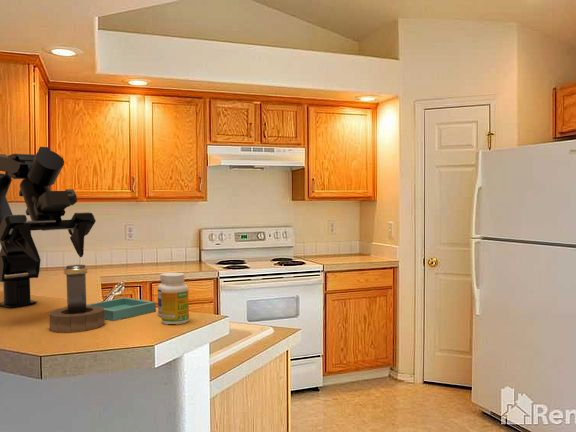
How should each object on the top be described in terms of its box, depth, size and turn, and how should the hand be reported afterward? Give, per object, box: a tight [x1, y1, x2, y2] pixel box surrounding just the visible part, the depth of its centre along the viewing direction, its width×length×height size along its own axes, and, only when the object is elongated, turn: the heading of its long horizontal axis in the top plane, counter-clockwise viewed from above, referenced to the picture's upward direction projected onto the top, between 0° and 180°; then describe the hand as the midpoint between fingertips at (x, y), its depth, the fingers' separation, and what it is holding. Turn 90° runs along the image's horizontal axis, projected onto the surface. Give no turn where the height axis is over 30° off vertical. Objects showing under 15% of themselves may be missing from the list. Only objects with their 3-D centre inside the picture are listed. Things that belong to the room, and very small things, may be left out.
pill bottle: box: [157, 271, 175, 317], centre depth 113 cm, size 5×5×9 cm
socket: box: [48, 306, 106, 333], centre depth 104 cm, size 10×10×3 cm
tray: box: [86, 296, 157, 322], centre depth 115 cm, size 11×11×2 cm
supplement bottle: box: [161, 272, 190, 325], centre depth 106 cm, size 5×5×10 cm
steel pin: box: [63, 264, 88, 314], centre depth 104 cm, size 4×4×12 cm
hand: (60, 258), depth 109 cm, fingers open, 9 cm apart
